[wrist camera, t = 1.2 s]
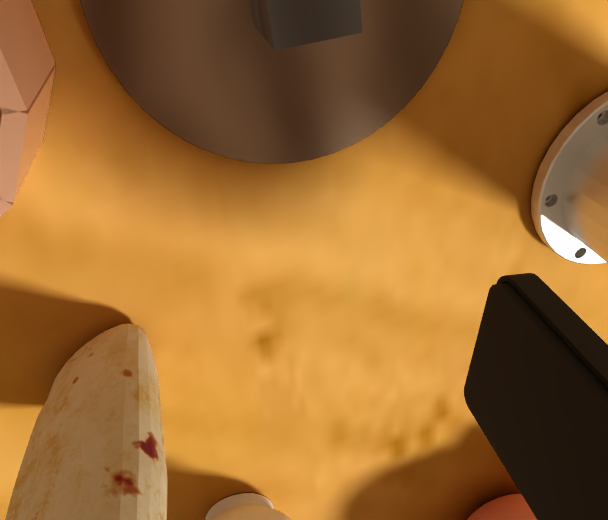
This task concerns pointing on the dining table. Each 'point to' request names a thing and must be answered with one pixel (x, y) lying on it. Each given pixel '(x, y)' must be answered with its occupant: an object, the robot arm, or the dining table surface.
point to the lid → (272, 67)
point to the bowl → (21, 94)
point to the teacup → (245, 508)
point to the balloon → (504, 509)
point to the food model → (98, 438)
